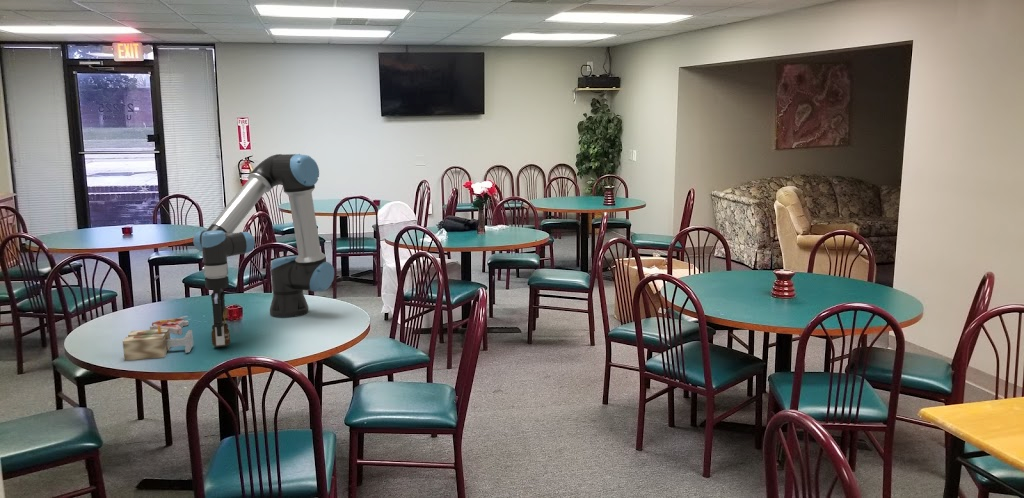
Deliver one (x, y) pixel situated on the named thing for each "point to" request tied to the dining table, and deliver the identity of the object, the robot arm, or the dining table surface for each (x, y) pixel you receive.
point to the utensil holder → (226, 332)
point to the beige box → (146, 344)
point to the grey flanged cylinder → (180, 340)
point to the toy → (171, 325)
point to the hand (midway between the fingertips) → (221, 342)
